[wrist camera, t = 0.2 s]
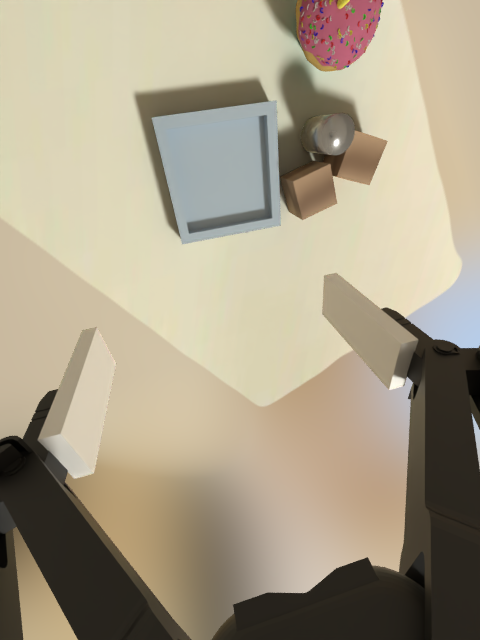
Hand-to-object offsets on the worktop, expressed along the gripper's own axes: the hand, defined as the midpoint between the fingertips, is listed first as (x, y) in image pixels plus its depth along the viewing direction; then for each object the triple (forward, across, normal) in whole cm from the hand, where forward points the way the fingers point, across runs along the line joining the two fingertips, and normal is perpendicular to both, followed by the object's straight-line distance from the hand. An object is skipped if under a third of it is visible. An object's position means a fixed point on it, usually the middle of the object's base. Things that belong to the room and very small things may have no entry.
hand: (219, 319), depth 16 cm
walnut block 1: (+27, +16, 0) cm, 32 cm away
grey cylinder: (+27, +18, +6) cm, 33 cm away
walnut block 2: (+27, +22, +3) cm, 35 cm away
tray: (+27, +5, +4) cm, 28 cm away
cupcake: (+27, +18, +16) cm, 37 cm away
